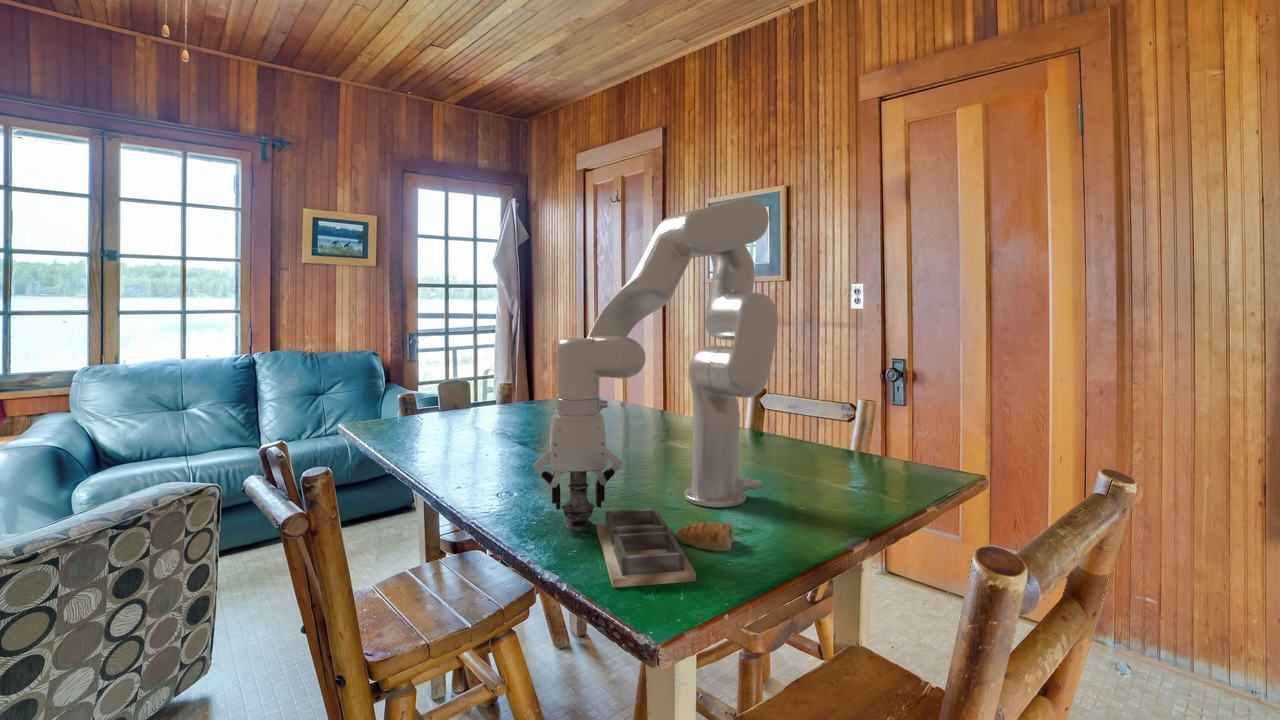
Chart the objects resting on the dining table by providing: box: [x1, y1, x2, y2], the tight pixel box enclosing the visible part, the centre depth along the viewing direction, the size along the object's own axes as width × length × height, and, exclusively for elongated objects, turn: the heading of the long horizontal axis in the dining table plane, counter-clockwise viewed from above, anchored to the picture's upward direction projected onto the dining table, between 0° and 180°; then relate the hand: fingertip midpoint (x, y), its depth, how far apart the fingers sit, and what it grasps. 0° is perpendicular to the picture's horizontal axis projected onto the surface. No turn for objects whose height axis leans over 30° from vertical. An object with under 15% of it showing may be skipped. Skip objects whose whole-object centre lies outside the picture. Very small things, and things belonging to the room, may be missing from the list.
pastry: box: [676, 521, 735, 552], centre depth 98 cm, size 9×7×4 cm
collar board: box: [596, 508, 697, 589], centre depth 94 cm, size 12×22×4 cm, turn 10°
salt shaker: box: [561, 472, 595, 532], centre depth 105 cm, size 6×6×12 cm
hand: (578, 505), depth 106 cm, fingers open, 6 cm apart
